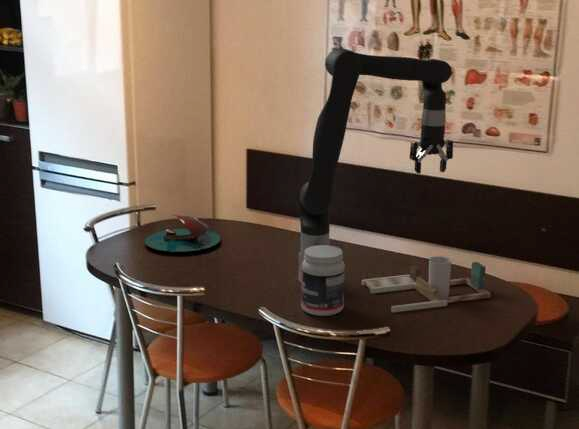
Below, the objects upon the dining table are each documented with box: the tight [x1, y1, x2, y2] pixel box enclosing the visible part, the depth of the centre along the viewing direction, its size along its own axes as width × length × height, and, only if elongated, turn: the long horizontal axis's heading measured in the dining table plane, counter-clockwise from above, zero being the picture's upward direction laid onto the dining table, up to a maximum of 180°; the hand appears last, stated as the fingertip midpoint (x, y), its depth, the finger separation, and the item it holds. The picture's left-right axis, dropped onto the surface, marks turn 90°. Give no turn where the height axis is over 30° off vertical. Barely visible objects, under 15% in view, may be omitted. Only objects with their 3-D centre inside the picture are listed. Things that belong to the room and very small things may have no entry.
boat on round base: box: [144, 214, 221, 252], centre depth 299 cm, size 28×28×11 cm
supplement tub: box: [300, 245, 346, 317], centre depth 238 cm, size 13×13×18 cm
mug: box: [427, 255, 452, 298], centre depth 251 cm, size 10×7×12 cm, turn 140°
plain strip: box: [364, 264, 421, 291], centre depth 259 cm, size 17×5×5 cm, turn 107°
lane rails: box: [361, 274, 448, 313], centre depth 252 cm, size 18×24×2 cm
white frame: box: [414, 261, 491, 304], centre depth 252 cm, size 19×14×8 cm
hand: (430, 172), depth 262 cm, fingers open, 8 cm apart
